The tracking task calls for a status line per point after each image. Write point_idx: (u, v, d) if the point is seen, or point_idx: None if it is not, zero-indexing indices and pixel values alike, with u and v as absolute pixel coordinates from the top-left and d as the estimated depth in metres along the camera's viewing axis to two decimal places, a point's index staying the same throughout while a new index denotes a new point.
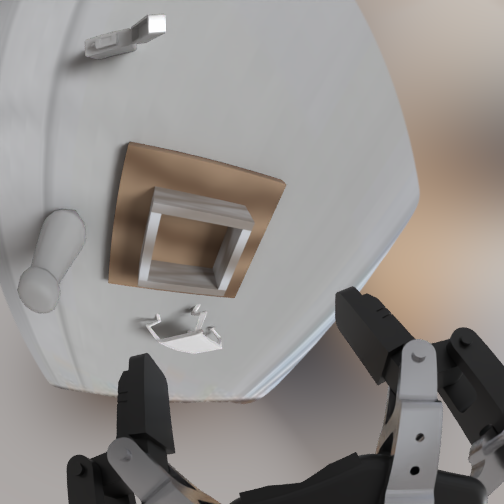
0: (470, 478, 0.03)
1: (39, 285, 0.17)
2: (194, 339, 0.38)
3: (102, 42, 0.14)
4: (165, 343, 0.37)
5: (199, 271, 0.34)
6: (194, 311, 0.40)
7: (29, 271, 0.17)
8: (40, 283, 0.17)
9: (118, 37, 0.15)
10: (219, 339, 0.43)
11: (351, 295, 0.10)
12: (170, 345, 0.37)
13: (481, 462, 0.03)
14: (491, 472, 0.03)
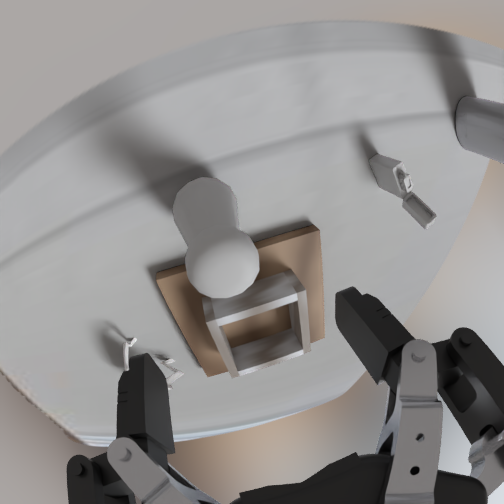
0: (470, 478, 0.03)
1: (256, 272, 0.16)
2: None
3: (406, 181, 0.25)
4: None
5: (229, 344, 0.32)
6: (166, 362, 0.34)
7: None
8: (258, 270, 0.16)
9: None
10: None
11: (351, 295, 0.10)
12: None
13: (481, 463, 0.03)
14: (491, 472, 0.03)
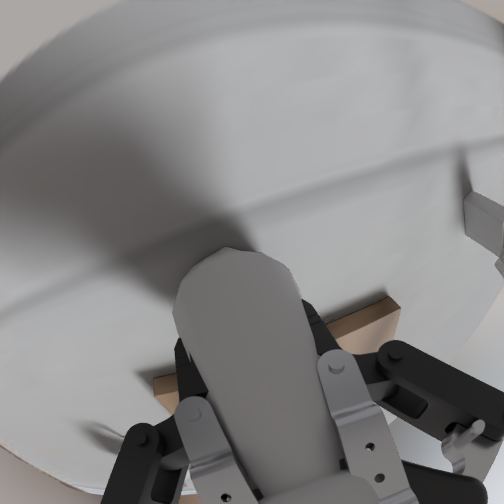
0: (470, 478, 0.03)
1: None
2: None
3: None
4: None
5: None
6: None
7: None
8: None
9: None
10: None
11: None
12: None
13: (460, 458, 0.04)
14: (476, 462, 0.03)
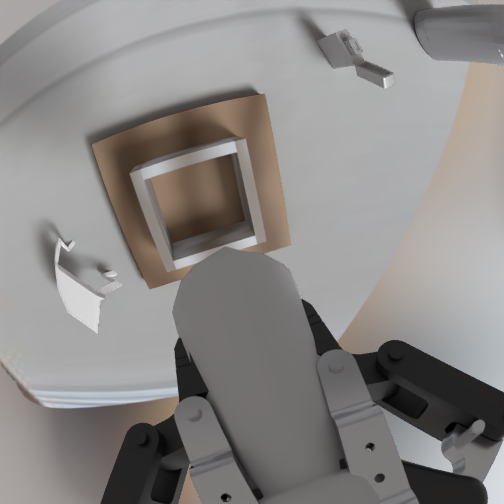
0: (470, 478, 0.03)
1: None
2: (88, 298, 0.26)
3: (353, 44, 0.20)
4: (59, 272, 0.23)
5: (167, 231, 0.27)
6: (106, 275, 0.30)
7: None
8: None
9: None
10: (97, 323, 0.30)
11: None
12: (60, 280, 0.24)
13: (460, 458, 0.04)
14: (476, 462, 0.03)
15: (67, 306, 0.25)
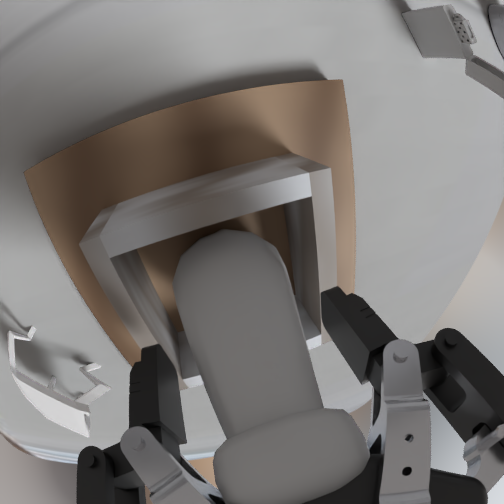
0: (470, 478, 0.03)
1: None
2: (66, 410, 0.14)
3: (467, 27, 0.08)
4: (20, 382, 0.12)
5: (167, 323, 0.16)
6: (87, 369, 0.18)
7: (360, 431, 0.06)
8: None
9: (466, 43, 0.09)
10: (87, 419, 0.19)
11: (335, 294, 0.10)
12: (25, 390, 0.13)
13: (476, 461, 0.04)
14: (489, 469, 0.03)
15: (43, 413, 0.14)
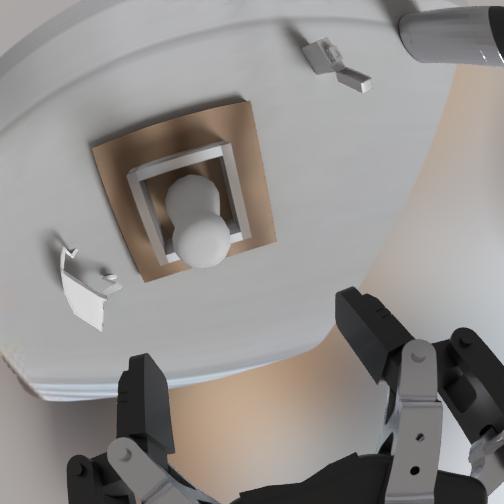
0: (471, 478, 0.03)
1: (228, 247, 0.20)
2: (92, 299, 0.29)
3: (333, 51, 0.22)
4: (65, 277, 0.26)
5: (160, 228, 0.30)
6: (107, 278, 0.33)
7: None
8: (229, 245, 0.20)
9: (337, 60, 0.24)
10: (101, 323, 0.33)
11: (351, 295, 0.10)
12: (66, 284, 0.27)
13: (481, 462, 0.03)
14: (491, 472, 0.03)
15: (73, 308, 0.28)
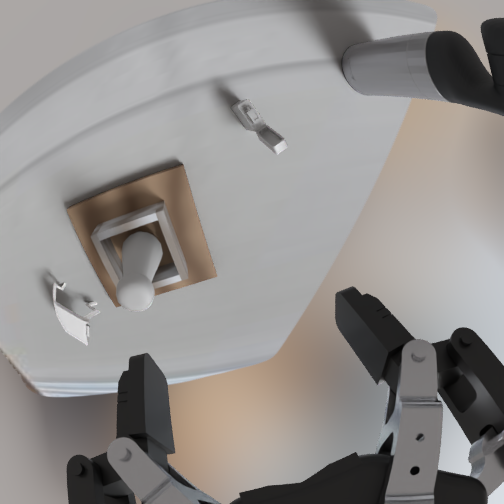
0: (471, 478, 0.03)
1: (151, 299, 0.27)
2: (77, 322, 0.36)
3: (252, 114, 0.29)
4: (57, 307, 0.34)
5: (122, 269, 0.37)
6: (90, 304, 0.40)
7: (149, 282, 0.27)
8: (152, 297, 0.27)
9: None
10: (87, 338, 0.41)
11: (351, 295, 0.10)
12: (58, 311, 0.35)
13: (481, 463, 0.03)
14: (491, 472, 0.03)
15: (65, 328, 0.36)
